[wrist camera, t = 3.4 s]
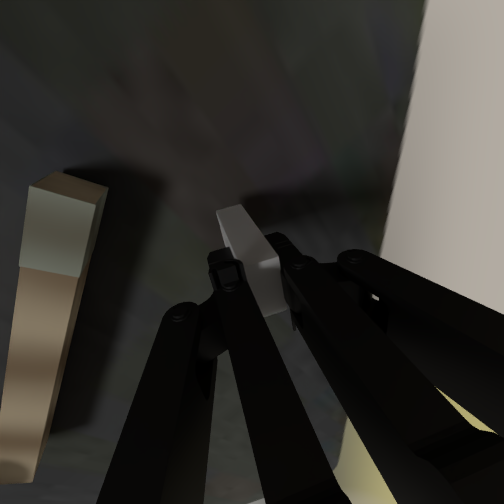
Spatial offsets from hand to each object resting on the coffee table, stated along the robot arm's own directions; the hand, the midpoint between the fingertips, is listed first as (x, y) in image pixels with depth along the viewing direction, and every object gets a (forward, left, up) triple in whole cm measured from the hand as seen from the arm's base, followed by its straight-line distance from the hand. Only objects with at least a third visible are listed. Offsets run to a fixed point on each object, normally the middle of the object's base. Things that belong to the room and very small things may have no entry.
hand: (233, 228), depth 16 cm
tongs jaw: (+5, -13, -2) cm, 14 cm away
